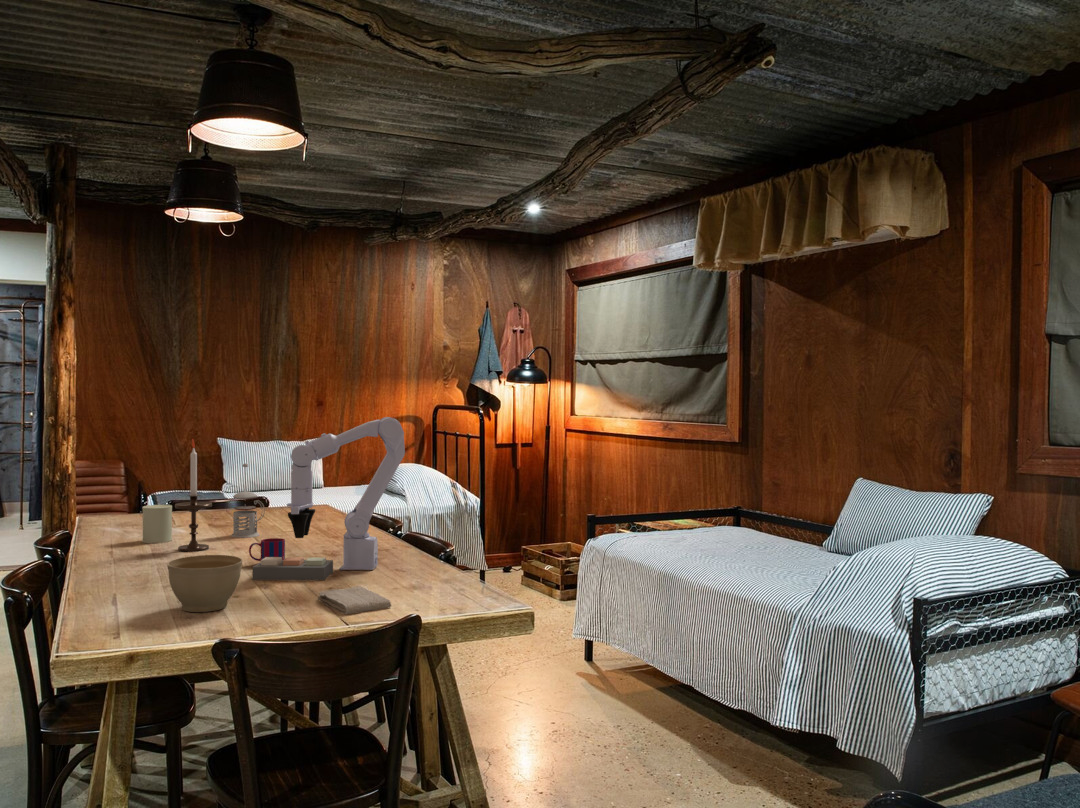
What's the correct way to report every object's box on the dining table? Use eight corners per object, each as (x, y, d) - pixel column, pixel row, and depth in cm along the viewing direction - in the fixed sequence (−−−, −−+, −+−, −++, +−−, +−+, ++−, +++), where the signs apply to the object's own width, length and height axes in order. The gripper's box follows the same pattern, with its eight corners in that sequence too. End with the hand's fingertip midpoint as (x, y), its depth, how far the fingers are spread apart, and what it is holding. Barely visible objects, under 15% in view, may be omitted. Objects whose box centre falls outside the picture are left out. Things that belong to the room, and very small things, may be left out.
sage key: (325, 565, 238) (325, 557, 238) (321, 568, 233) (321, 560, 233) (309, 565, 238) (309, 557, 238) (305, 568, 233) (305, 560, 233)
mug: (285, 564, 251) (285, 541, 251) (249, 567, 248) (249, 543, 248) (283, 560, 258) (283, 537, 257) (248, 562, 254) (248, 539, 254)
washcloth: (359, 595, 216) (359, 582, 216) (393, 610, 202) (393, 596, 202) (314, 601, 209) (314, 589, 209) (345, 617, 195) (345, 603, 195)
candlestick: (195, 553, 268) (195, 439, 267) (167, 551, 271) (167, 438, 271) (219, 547, 278) (219, 438, 278) (191, 545, 281) (191, 437, 281)
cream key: (281, 565, 238) (281, 557, 238) (277, 568, 233) (277, 560, 233) (265, 565, 238) (265, 557, 238) (260, 568, 233) (260, 560, 233)
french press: (238, 532, 307) (238, 462, 307) (269, 533, 306) (270, 462, 305) (224, 537, 298) (224, 464, 297) (256, 538, 296) (257, 464, 296)
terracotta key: (303, 565, 238) (303, 557, 238) (299, 568, 233) (299, 560, 233) (287, 565, 238) (287, 557, 238) (283, 568, 233) (283, 560, 233)
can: (178, 540, 291) (178, 504, 291) (153, 544, 283) (153, 507, 283) (161, 537, 296) (161, 502, 296) (136, 541, 288) (136, 505, 288)
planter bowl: (167, 620, 190) (167, 570, 190) (167, 603, 205) (167, 557, 205) (245, 613, 196) (245, 564, 196) (239, 597, 211) (239, 552, 211)
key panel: (333, 572, 241) (333, 560, 241) (324, 580, 231) (324, 567, 231) (264, 572, 241) (264, 559, 241) (252, 579, 231) (252, 567, 231)
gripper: (294, 485, 251) (294, 532, 251) (279, 490, 236) (279, 540, 236) (319, 485, 251) (319, 532, 251) (305, 491, 236) (305, 541, 236)
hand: (301, 536), depth 244 cm, fingers open, 4 cm apart
